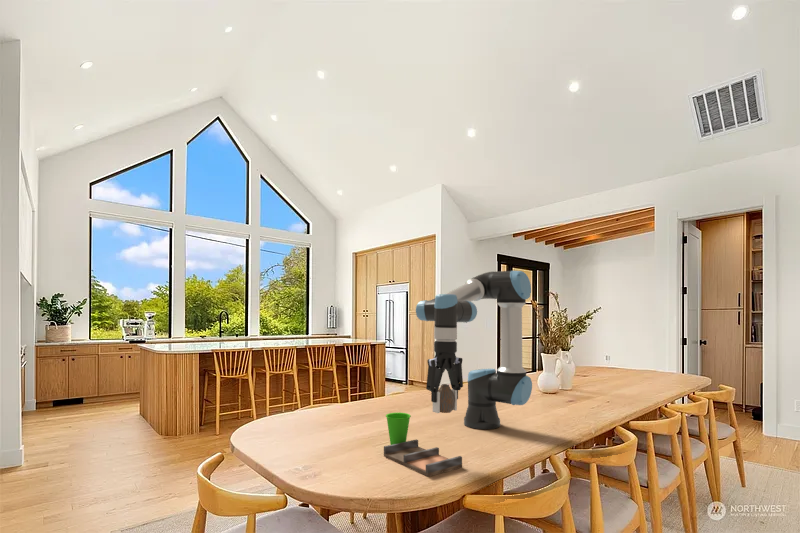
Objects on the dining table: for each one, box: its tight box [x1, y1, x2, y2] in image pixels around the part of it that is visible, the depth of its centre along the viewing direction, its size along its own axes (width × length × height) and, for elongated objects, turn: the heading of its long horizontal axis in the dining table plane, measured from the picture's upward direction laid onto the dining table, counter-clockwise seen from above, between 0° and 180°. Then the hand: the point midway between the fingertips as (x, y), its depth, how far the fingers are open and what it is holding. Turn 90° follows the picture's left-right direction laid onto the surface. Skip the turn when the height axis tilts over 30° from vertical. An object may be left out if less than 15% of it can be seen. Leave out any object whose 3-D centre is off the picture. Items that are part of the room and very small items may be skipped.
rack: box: [383, 438, 463, 478], centre depth 154 cm, size 14×23×3 cm, turn 37°
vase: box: [438, 383, 455, 414], centre depth 156 cm, size 7×7×9 cm
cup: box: [385, 412, 412, 445], centre depth 169 cm, size 9×9×11 cm
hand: (444, 410), depth 156 cm, fingers closed on vase, 7 cm apart
